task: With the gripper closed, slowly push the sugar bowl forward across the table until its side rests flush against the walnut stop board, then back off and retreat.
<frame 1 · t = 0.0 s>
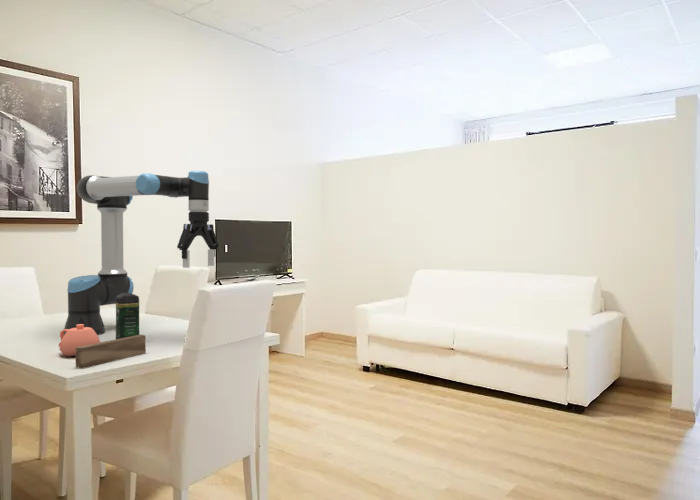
hand: (199, 266, 208), 28 cm above the table, fingers open, 13 cm apart
coffee jar: (127, 342, 202), on the table
sugar bowl: (78, 355, 182), on the table
stop board: (112, 359, 174), on the table
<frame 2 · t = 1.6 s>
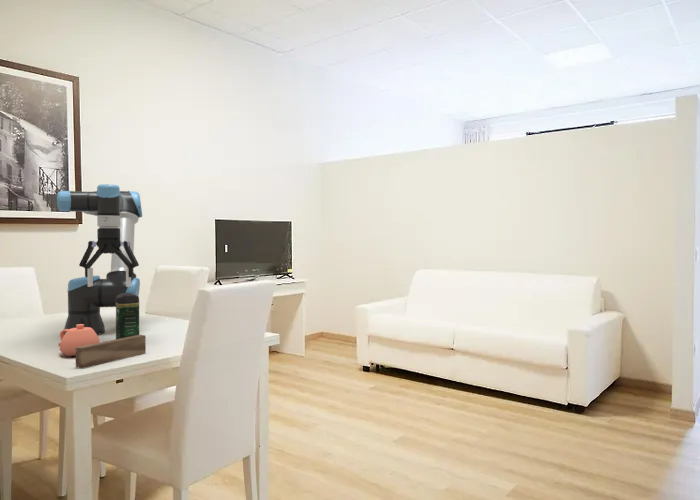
hand: (109, 286, 195), 22 cm above the table, fingers open, 13 cm apart
nothing on the table moved.
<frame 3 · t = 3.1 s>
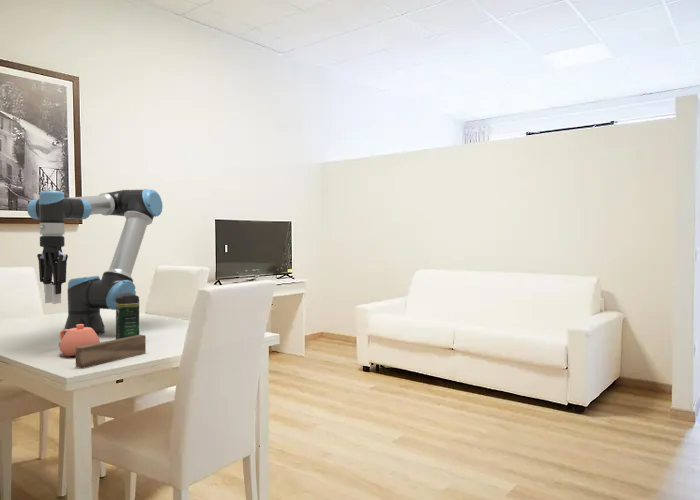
hand: (53, 302, 187), 17 cm above the table, fingers open, 3 cm apart
nothing on the table moved.
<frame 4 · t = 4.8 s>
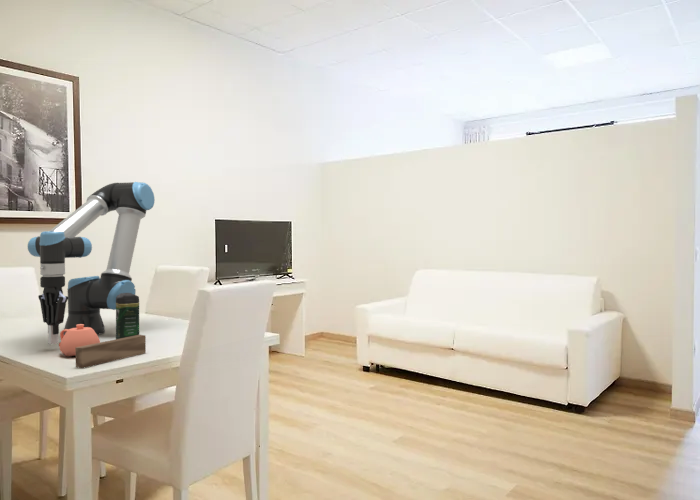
hand: (53, 343, 187), 2 cm above the table, fingers closed
nothing on the table moved.
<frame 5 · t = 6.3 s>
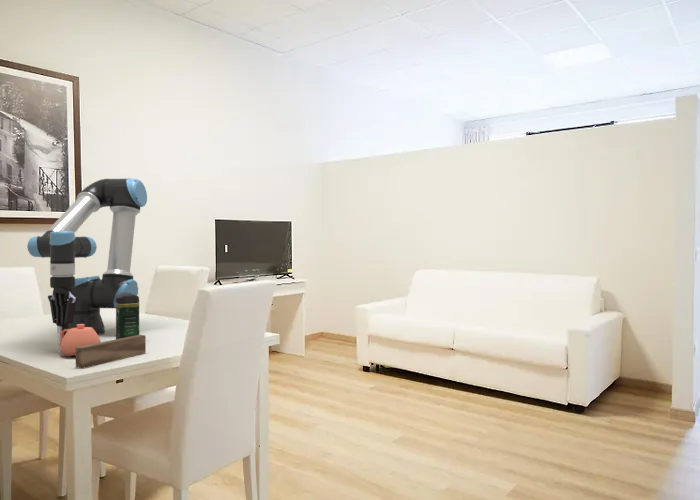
hand: (62, 344, 185), 3 cm above the table, fingers closed
sugar bowl: (78, 354, 181), on the table, touching gripper
everything else where it was.
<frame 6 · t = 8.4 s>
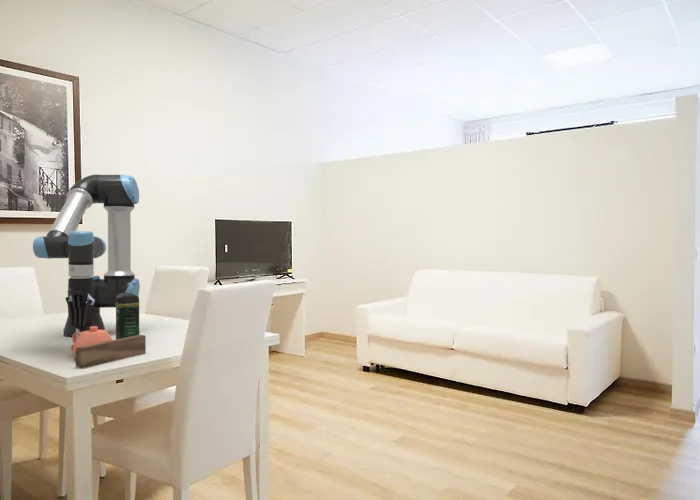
hand: (80, 347, 180), 2 cm above the table, fingers closed
sugar bowl: (91, 358, 176), on the table, touching gripper, stop board
everything else where it was.
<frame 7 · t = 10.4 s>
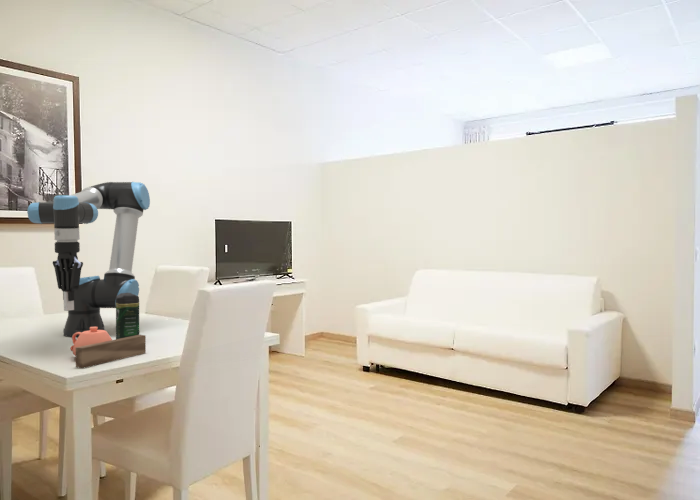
hand: (69, 310, 184), 14 cm above the table, fingers closed
sugar bowl: (91, 358, 176), on the table
everything else where it was.
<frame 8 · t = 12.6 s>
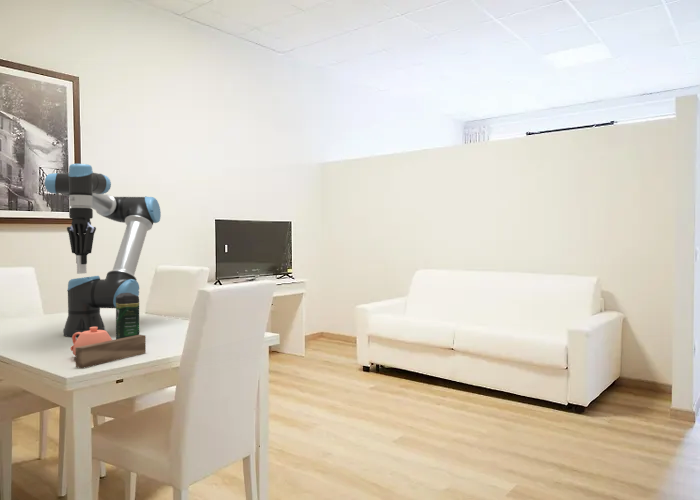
hand: (81, 273, 193), 26 cm above the table, fingers closed
nothing on the table moved.
at the end: sugar bowl inside the target area on the table beside the stop board (1.4 cm from its centre), on the table; sugar bowl tilted 0°; sugar bowl moved 8.7 cm from its start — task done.
